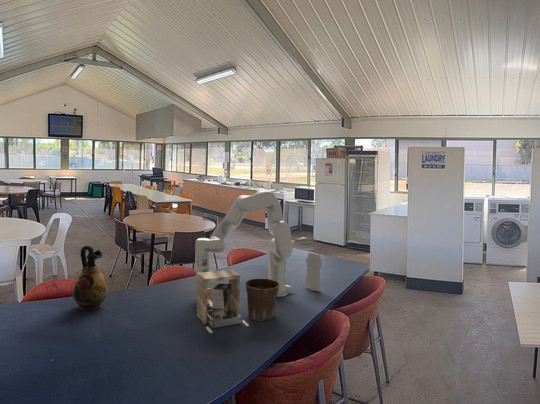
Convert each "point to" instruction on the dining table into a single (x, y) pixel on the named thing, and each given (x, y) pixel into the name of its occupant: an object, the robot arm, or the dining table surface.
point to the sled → (222, 322)
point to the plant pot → (261, 298)
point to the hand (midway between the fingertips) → (202, 295)
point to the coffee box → (221, 302)
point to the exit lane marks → (212, 332)
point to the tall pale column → (313, 271)
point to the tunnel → (211, 277)
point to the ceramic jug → (90, 282)
